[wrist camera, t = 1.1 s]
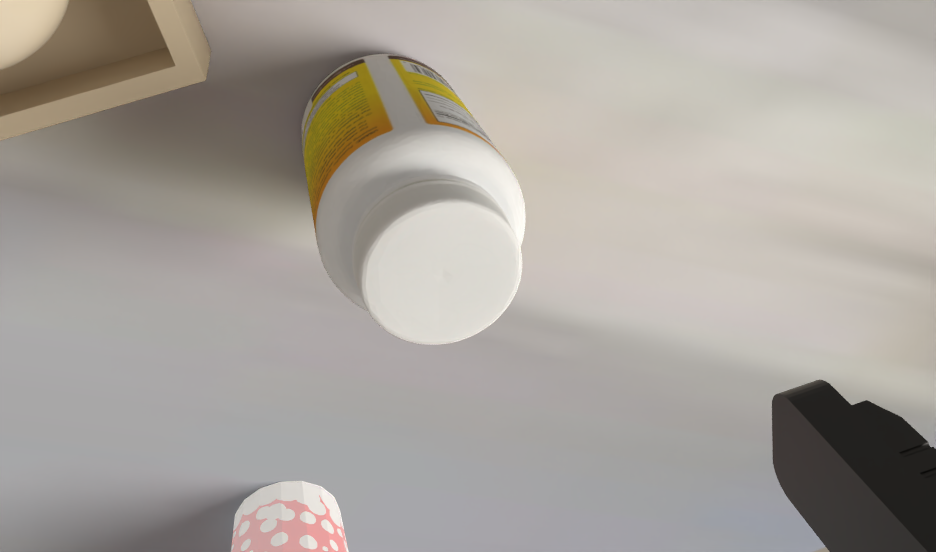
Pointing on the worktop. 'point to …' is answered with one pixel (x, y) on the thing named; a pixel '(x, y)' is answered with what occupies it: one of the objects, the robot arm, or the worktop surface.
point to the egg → (27, 27)
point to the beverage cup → (289, 520)
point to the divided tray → (104, 62)
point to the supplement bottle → (411, 201)
